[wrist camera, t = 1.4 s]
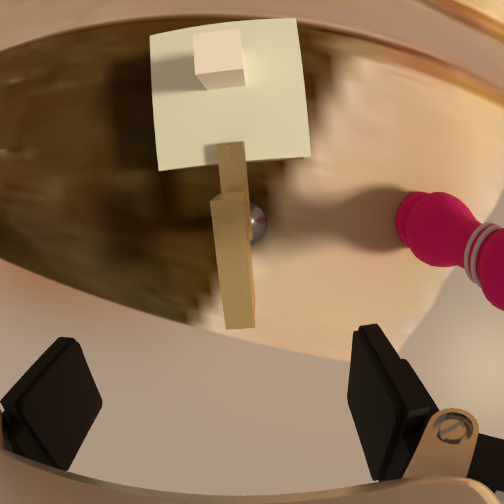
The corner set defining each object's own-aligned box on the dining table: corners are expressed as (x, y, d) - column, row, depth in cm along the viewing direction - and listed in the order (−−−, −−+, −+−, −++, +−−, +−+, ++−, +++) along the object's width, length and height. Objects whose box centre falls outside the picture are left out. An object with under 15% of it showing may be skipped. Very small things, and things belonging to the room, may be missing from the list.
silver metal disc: (219, 202, 31) (218, 203, 30) (264, 198, 31) (264, 199, 30) (223, 245, 32) (222, 247, 31) (267, 241, 32) (267, 244, 31)
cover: (154, 40, 22) (128, 14, 16) (294, 23, 21) (303, -10, 15) (163, 170, 25) (136, 175, 19) (308, 156, 25) (323, 156, 19)
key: (225, 146, 28) (202, 139, 16) (246, 144, 28) (238, 135, 16) (236, 264, 31) (224, 329, 20) (256, 263, 31) (256, 327, 20)
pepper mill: (386, 250, 32) (501, 352, 13) (394, 183, 30) (536, 227, 11) (440, 252, 32) (560, 337, 13) (448, 190, 30) (588, 236, 11)
